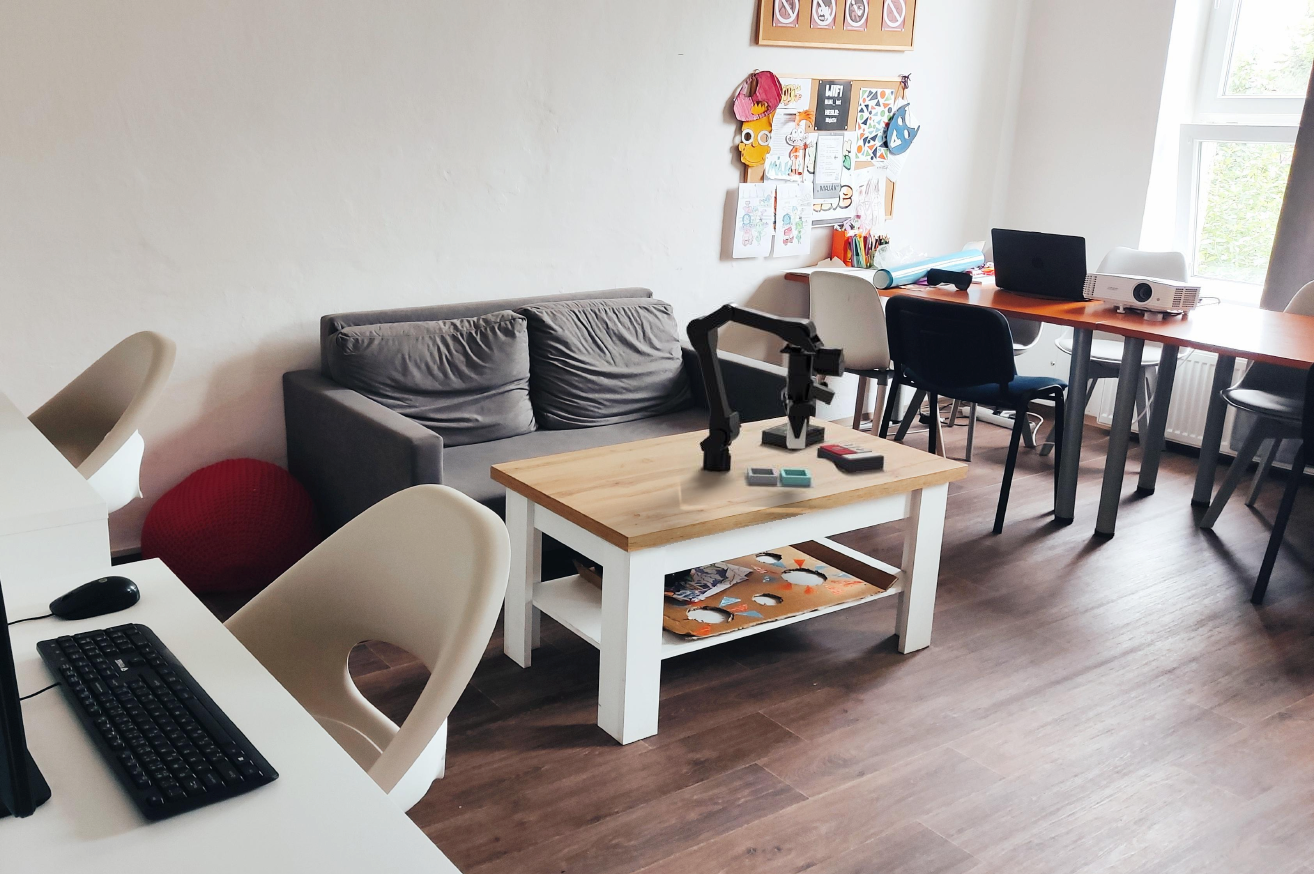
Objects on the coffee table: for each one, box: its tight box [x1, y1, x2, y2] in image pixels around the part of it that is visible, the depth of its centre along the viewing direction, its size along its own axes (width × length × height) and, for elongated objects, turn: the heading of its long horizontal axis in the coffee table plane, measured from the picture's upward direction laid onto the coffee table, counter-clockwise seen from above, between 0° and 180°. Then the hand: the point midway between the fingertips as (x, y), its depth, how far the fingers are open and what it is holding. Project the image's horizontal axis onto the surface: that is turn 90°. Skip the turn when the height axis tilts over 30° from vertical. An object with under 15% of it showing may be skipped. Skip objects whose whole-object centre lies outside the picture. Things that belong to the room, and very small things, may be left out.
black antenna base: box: [760, 376, 826, 452], centre depth 304 cm, size 20×14×17 cm
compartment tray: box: [744, 466, 814, 489], centre depth 266 cm, size 16×10×3 cm, turn 90°
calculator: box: [816, 442, 885, 474], centre depth 286 cm, size 11×4×15 cm
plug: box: [786, 417, 806, 450], centre depth 263 cm, size 4×4×7 cm
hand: (796, 436), depth 263 cm, fingers closed on plug, 4 cm apart
